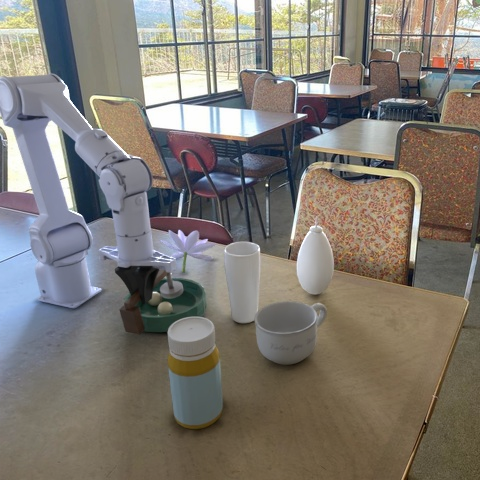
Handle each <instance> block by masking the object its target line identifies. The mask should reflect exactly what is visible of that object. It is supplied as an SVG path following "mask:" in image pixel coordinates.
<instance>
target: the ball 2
mask: <svg viewBox="0 0 480 480" xmlns="http://www.w3.org/2000/svg"><path fill="white" fill-rule="evenodd" d="M172 310H173V307H172V305H171V304H170V303H169V302H162V303H160V304H159V306H158V313H159V314H160V315H162V316H163V315H170V314H171V313H172Z"/></svg>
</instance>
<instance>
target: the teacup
mask: <svg viewBox="0 0 480 480" xmlns="http://www.w3.org/2000/svg"><path fill="white" fill-rule="evenodd" d="M327 309H328V308H327V307H326V306H325V305H324V304H323V303H321V302H317V303H313V304H312V305H309V304H307V303H303V302H300V301H295V300H284V301H275V302H272V303H269V304H266V305H265V306H263V307H261V308H260V309H258V312H257V313H256V315H255V317H254V321H253V322H254V325H255V334H256V343H257V347H258V350H259V351H260V353H261V355H262V356H263V357H264V358H266V359H267V360H269V361H271V362H273V363H276V364H278V365H287V366H288V365H294V364H297V363H300V362H301V361H303V360H305V359H306V358H308V357H309V356H311V354H312V353H313V352H314V350H315V348H316V345H317V340H318V329H319V328H320V327H321V325H322V324H324V322H325V320H326V318H327V315H328V310H327ZM318 311H319V314H318V313H317V312H318Z"/></svg>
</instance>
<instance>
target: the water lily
mask: <svg viewBox="0 0 480 480" xmlns="http://www.w3.org/2000/svg"><path fill="white" fill-rule="evenodd" d="M168 235H169V237H170V239H171V241H172V242H173V243H174V244H175V245H173V244H172V243H170V242H168V241H166V240H163V239H159V241H160V243H161V244H163V245H164V246H166V247H168V248H170V249H171V250H173V251H176V252H174V253H172V254H171V255H170V257H172V258H176V259H182V258H183V259H182V260H183V261H182V262H183V263H182V270H181V273H182V274H185V273H186V263H187V258H188V257H187V256H189V257H192V258H194V259H197V260H204V261H213V260H214V257H212V256H211V255H208V254H203V252H205V251H208V250H210V249H212V248H213V247H215V246H217V243H216V242H208V240H209V239H208V238H204V239H202V240H199V239H200V232H199V231H198V230H193V231H191V232H190V233H189V234H188V235H187V236H186V235H185V234H184V232H183V231H182V230H181V229H178V231H177V233H175V232H173V231H172V230H170V229H168Z"/></svg>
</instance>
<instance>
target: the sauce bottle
mask: <svg viewBox="0 0 480 480" xmlns="http://www.w3.org/2000/svg"><path fill="white" fill-rule="evenodd" d="M318 224H319V223H318V215H316V216H315V221H314V225H313V226H310V227H309V231H308V232H307V234H306V235H305V236H304V238H303V240H302V243H301V245H300V248H299V250H298V254H297V260H296V275H297V278H298V279H297V280H298V282H299V285H300V286H301V288H302V289H303V291H305V292H307V293H308V294H310V295H314V296H317V295H320V294H322V293H323V292H325V291H326V290H327V289H328V287H329V285H330V284H331V282H332V279H333V276H334V270H335V259H334V252H333V249H332V246H331V243H330V240H329V239H328V237H327V235H326V233H325V232H324V231H323V227H322V226H320V225H318Z"/></svg>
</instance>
